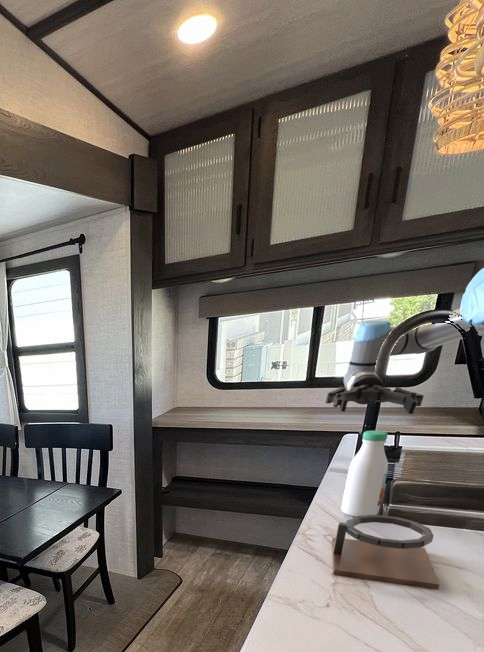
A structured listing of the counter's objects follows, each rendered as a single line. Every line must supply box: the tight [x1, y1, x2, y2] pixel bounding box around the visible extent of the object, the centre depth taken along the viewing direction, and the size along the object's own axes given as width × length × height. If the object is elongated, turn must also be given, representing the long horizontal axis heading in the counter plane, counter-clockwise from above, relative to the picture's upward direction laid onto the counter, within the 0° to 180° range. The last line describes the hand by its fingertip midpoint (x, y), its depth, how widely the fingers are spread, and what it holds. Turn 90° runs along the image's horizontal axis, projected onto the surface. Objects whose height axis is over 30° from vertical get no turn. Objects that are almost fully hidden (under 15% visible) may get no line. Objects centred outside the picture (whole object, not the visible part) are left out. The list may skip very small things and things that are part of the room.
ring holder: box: [331, 514, 441, 590], centre depth 91 cm, size 16×16×8 cm
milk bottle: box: [340, 430, 389, 517], centre depth 112 cm, size 8×8×20 cm
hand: (377, 407), depth 111 cm, fingers open, 13 cm apart
